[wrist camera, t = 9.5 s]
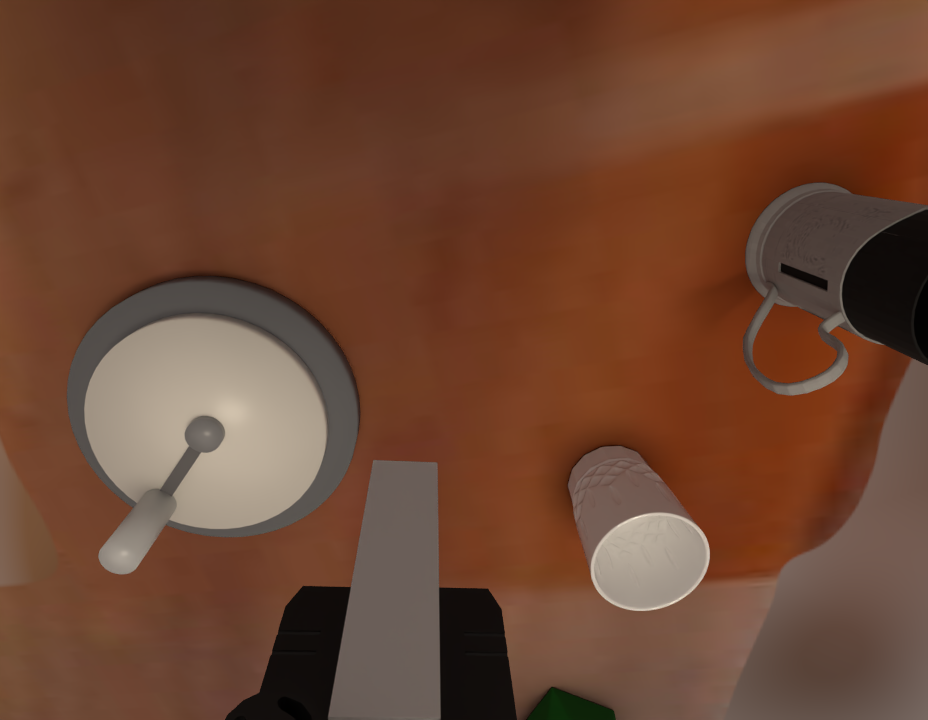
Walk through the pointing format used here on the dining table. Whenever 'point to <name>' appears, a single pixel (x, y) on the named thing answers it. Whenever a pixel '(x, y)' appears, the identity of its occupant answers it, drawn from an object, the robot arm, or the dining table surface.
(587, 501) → the white cup
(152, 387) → the cream crank wheel
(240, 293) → the stand base
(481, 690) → the robot arm
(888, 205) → the glass holder
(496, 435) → the dining table surface
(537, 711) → the milk carton
